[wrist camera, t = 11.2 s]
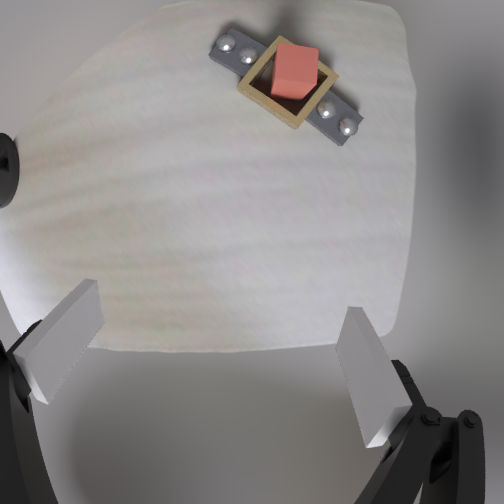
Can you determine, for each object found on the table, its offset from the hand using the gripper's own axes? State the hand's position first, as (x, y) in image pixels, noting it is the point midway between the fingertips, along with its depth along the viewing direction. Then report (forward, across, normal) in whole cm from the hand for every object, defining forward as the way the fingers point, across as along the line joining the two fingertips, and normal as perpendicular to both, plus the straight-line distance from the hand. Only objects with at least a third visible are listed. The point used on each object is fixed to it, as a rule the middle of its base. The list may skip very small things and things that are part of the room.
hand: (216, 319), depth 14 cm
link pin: (+27, +4, +17) cm, 32 cm away
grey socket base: (+27, +4, +17) cm, 32 cm away
